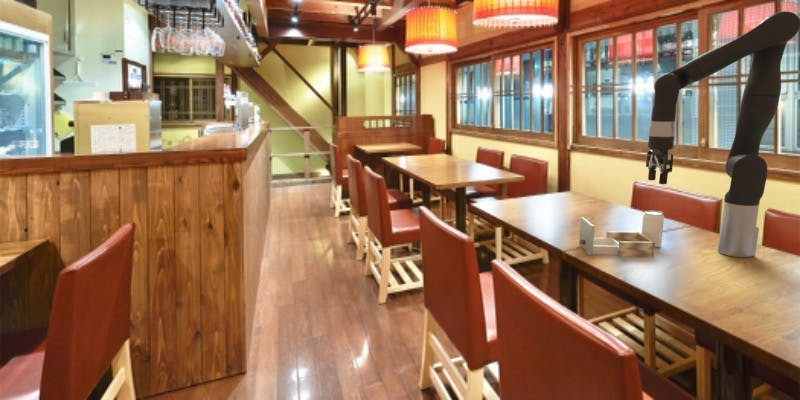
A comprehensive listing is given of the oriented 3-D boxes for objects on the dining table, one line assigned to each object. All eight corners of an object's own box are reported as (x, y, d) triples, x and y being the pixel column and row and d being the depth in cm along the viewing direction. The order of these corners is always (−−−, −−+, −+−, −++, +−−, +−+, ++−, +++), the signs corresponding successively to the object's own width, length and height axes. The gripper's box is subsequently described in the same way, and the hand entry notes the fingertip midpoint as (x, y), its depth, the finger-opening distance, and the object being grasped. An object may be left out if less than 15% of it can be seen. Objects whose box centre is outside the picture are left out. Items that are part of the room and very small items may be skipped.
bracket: (610, 244, 162) (613, 217, 160) (623, 255, 151) (626, 226, 149) (575, 244, 164) (577, 217, 162) (585, 255, 152) (587, 226, 150)
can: (636, 243, 164) (639, 211, 162) (650, 241, 166) (653, 209, 164) (650, 248, 158) (654, 215, 156) (665, 246, 160) (669, 213, 158)
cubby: (637, 245, 162) (638, 231, 161) (653, 257, 149) (655, 242, 148) (605, 245, 163) (606, 231, 162) (618, 256, 151) (620, 242, 150)
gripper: (684, 136, 147) (678, 185, 150) (663, 133, 161) (658, 178, 164) (659, 136, 148) (654, 185, 151) (641, 133, 162) (637, 178, 165)
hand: (657, 182), depth 158 cm, fingers open, 8 cm apart
